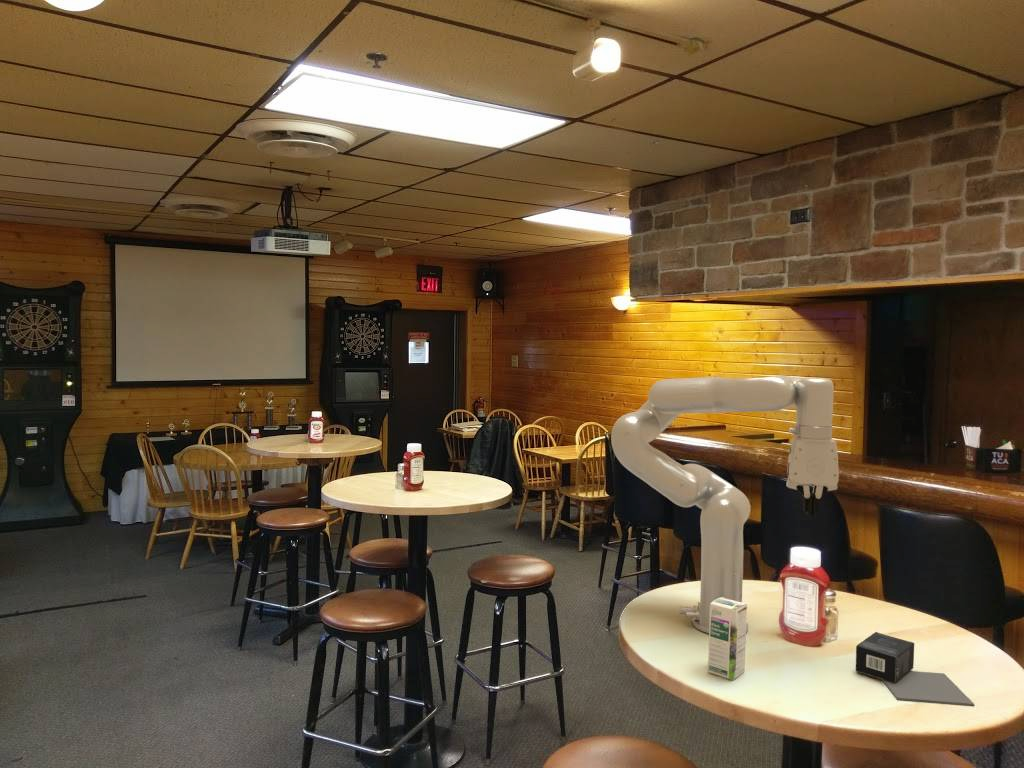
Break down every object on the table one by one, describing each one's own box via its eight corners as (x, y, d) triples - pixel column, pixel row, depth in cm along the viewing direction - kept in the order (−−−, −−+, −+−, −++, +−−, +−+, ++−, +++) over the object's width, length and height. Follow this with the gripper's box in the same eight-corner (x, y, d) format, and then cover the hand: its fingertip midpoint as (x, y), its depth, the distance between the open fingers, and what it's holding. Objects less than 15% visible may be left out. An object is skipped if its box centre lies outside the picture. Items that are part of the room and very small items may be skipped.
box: (895, 684, 145) (914, 668, 152) (896, 656, 145) (915, 641, 152) (854, 671, 151) (874, 656, 158) (855, 644, 151) (875, 630, 158)
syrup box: (706, 672, 150) (708, 602, 149) (719, 663, 155) (721, 595, 154) (733, 681, 146) (735, 609, 146) (745, 671, 151) (747, 602, 150)
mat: (897, 699, 140) (897, 697, 140) (873, 670, 153) (874, 668, 153) (974, 706, 138) (974, 703, 138) (944, 675, 151) (944, 673, 151)
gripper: (782, 434, 161) (779, 517, 162) (854, 436, 159) (851, 520, 160) (775, 430, 169) (772, 509, 170) (843, 432, 167) (840, 512, 167)
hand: (810, 514), depth 165 cm, fingers closed
